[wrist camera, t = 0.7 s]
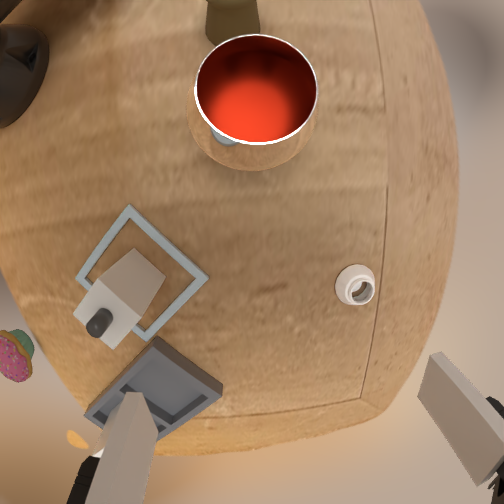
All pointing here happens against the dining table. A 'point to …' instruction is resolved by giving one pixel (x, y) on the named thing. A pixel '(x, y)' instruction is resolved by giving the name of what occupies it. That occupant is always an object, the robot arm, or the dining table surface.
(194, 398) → the two-slot grey rack
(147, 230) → the square frame
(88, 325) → the white block with peg
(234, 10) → the cork
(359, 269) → the white short tapered ring
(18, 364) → the cupcake
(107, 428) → the white plug
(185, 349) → the dining table surface
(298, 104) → the wineglass
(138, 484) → the robot arm
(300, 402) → the dining table surface
